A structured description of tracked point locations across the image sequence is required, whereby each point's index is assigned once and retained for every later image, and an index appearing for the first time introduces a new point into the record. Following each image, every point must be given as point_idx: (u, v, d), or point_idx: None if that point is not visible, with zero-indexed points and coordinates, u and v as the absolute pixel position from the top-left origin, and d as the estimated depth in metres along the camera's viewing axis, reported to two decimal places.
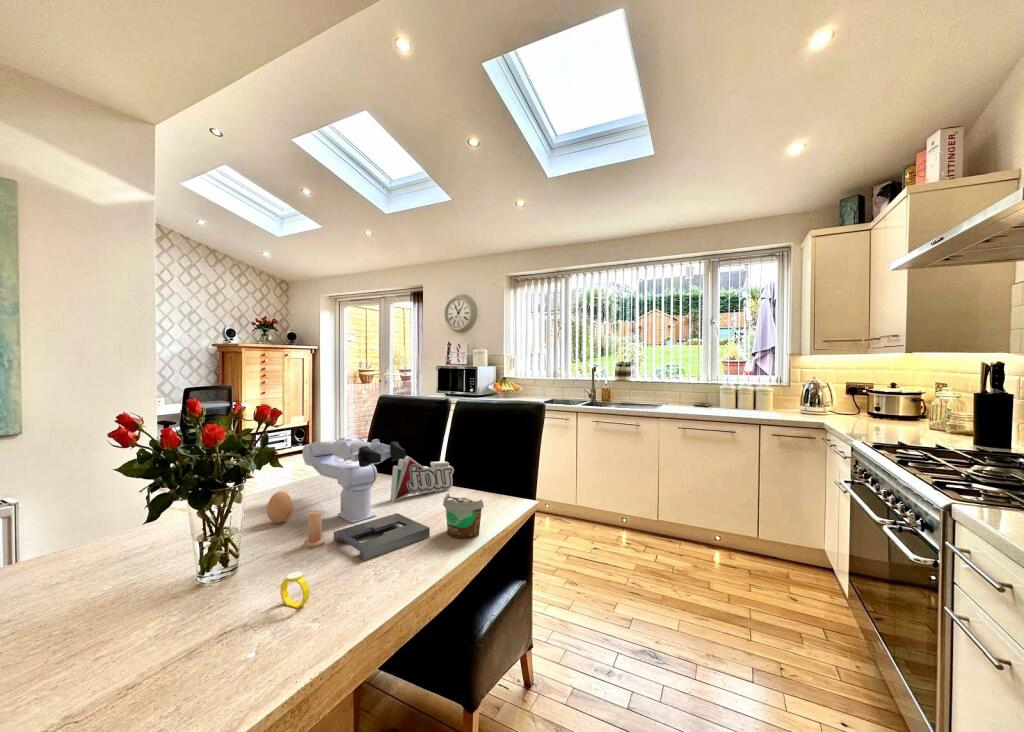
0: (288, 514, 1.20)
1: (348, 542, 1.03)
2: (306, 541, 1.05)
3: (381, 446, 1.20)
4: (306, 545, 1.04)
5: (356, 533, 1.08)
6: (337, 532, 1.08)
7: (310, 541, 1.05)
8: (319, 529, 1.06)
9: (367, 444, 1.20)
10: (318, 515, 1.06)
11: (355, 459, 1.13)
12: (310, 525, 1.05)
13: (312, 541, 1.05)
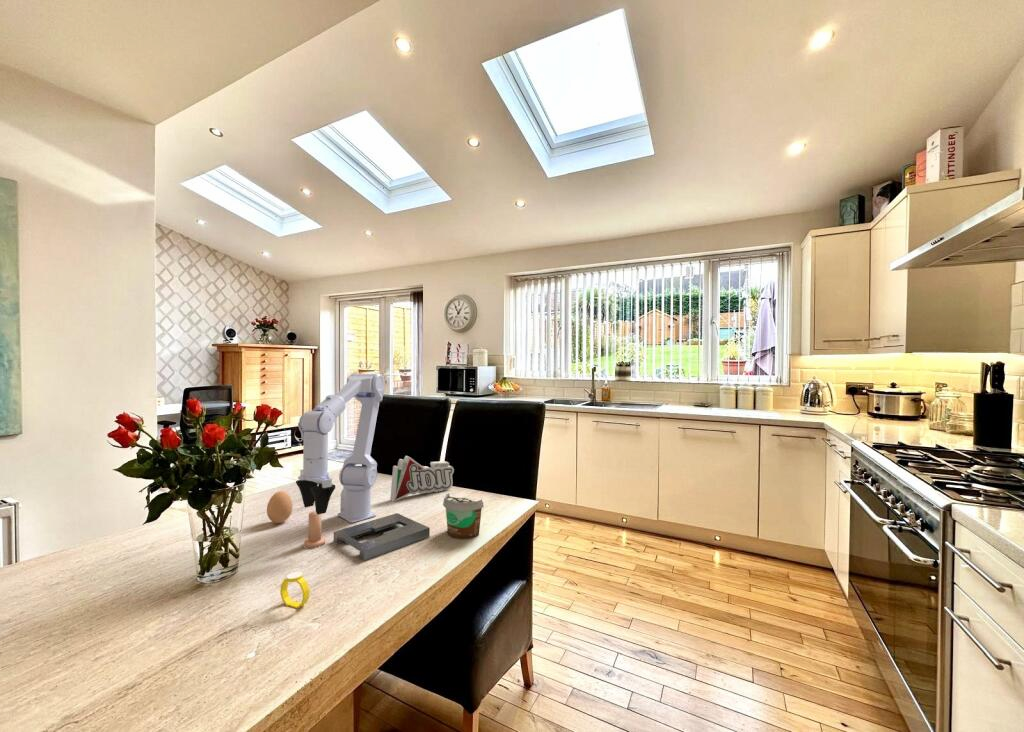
0: (288, 514, 1.20)
1: (348, 542, 1.03)
2: (306, 541, 1.05)
3: None
4: (306, 545, 1.04)
5: (356, 533, 1.08)
6: (337, 532, 1.08)
7: (310, 541, 1.05)
8: (319, 529, 1.06)
9: (303, 467, 1.05)
10: (318, 515, 1.06)
11: None
12: (310, 525, 1.05)
13: (312, 541, 1.05)
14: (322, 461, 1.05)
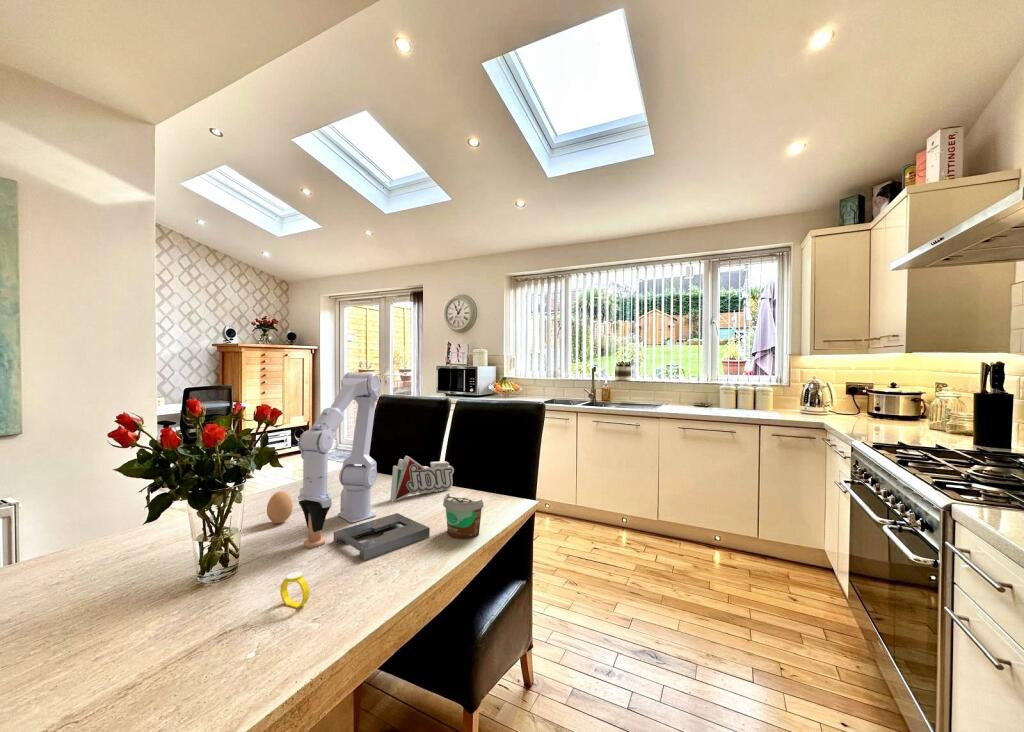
0: (288, 514, 1.20)
1: (348, 542, 1.03)
2: (306, 541, 1.05)
3: None
4: (306, 545, 1.04)
5: (356, 533, 1.08)
6: (337, 532, 1.08)
7: (310, 541, 1.05)
8: None
9: (303, 486, 1.05)
10: None
11: None
12: (310, 525, 1.05)
13: (312, 541, 1.05)
14: (322, 480, 1.05)
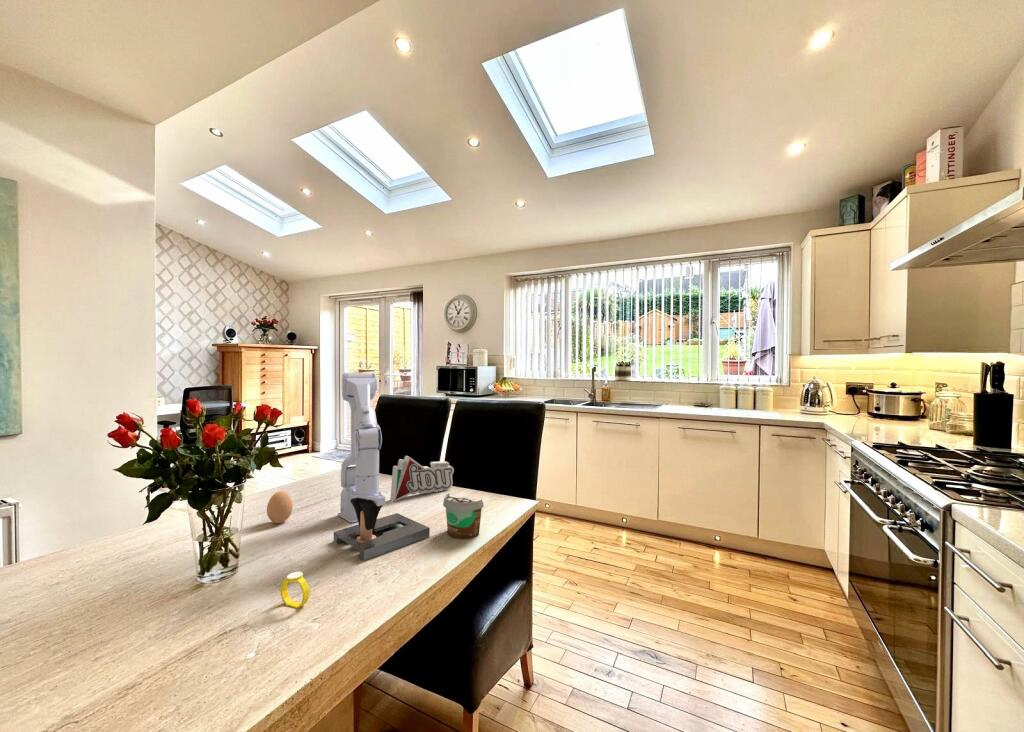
0: (288, 514, 1.20)
1: (348, 542, 1.03)
2: (358, 539, 1.05)
3: None
4: None
5: (356, 533, 1.08)
6: (337, 532, 1.08)
7: (362, 539, 1.05)
8: None
9: (355, 484, 1.05)
10: None
11: None
12: (362, 523, 1.05)
13: (364, 540, 1.05)
14: (374, 478, 1.05)
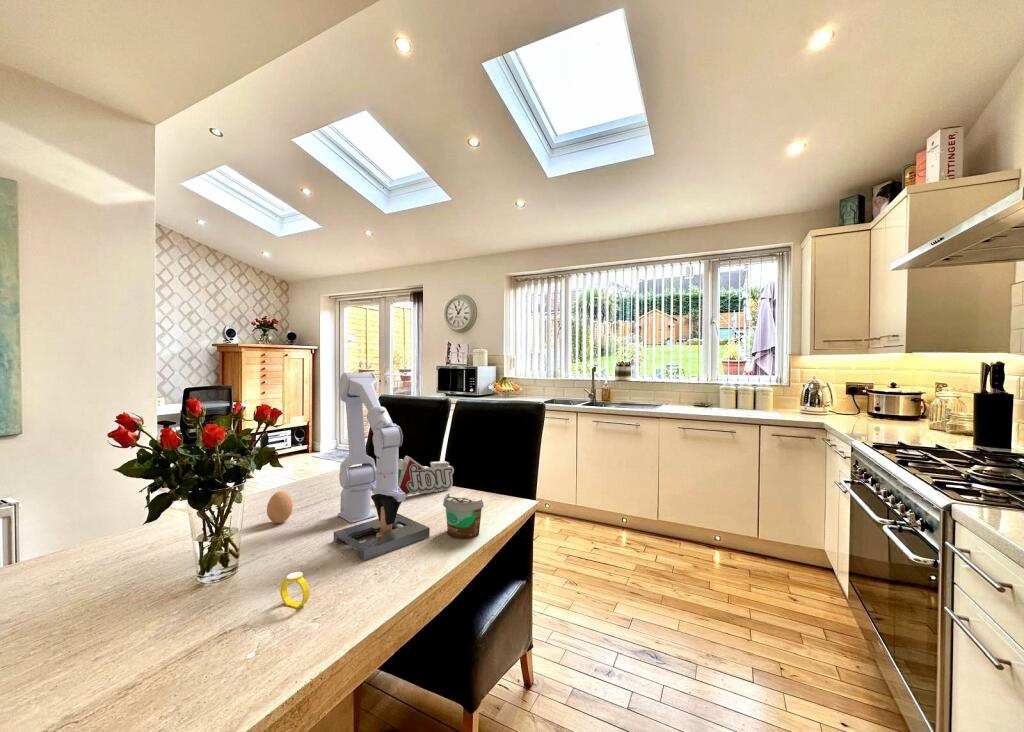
0: (288, 514, 1.20)
1: (348, 542, 1.03)
2: (378, 534, 1.10)
3: None
4: None
5: (356, 533, 1.08)
6: (337, 532, 1.08)
7: (382, 534, 1.09)
8: None
9: (376, 481, 1.10)
10: None
11: None
12: (382, 519, 1.09)
13: None
14: (394, 475, 1.09)
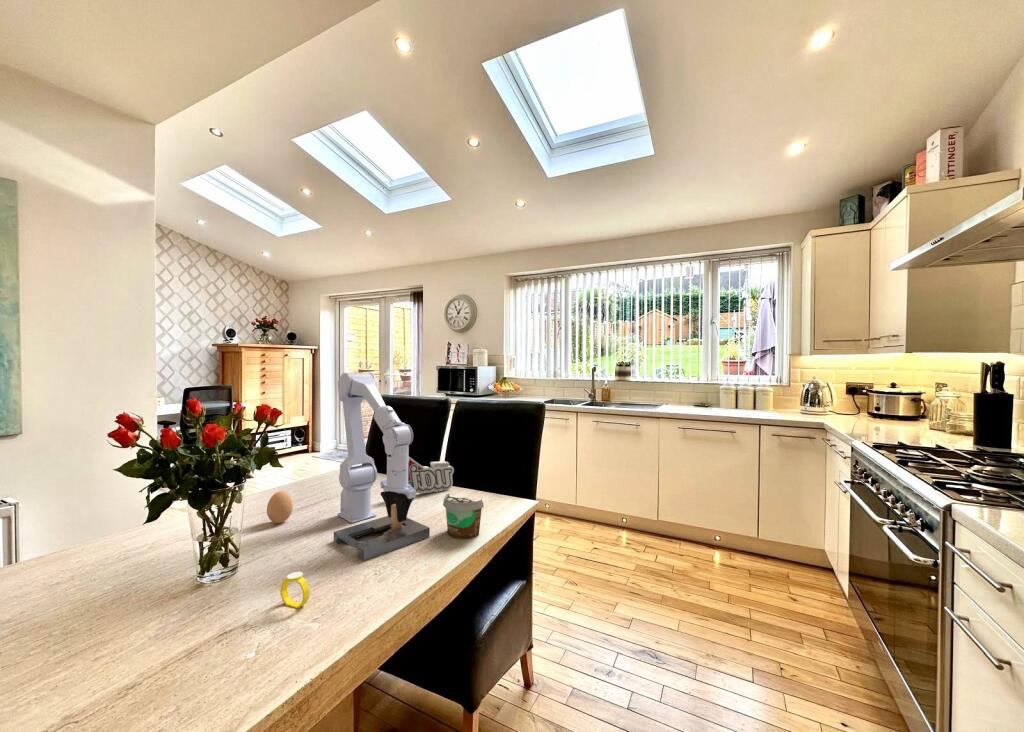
0: (288, 514, 1.20)
1: (348, 542, 1.03)
2: None
3: None
4: None
5: (356, 533, 1.08)
6: (337, 532, 1.08)
7: None
8: None
9: None
10: None
11: None
12: (393, 516, 1.12)
13: None
14: (405, 473, 1.12)
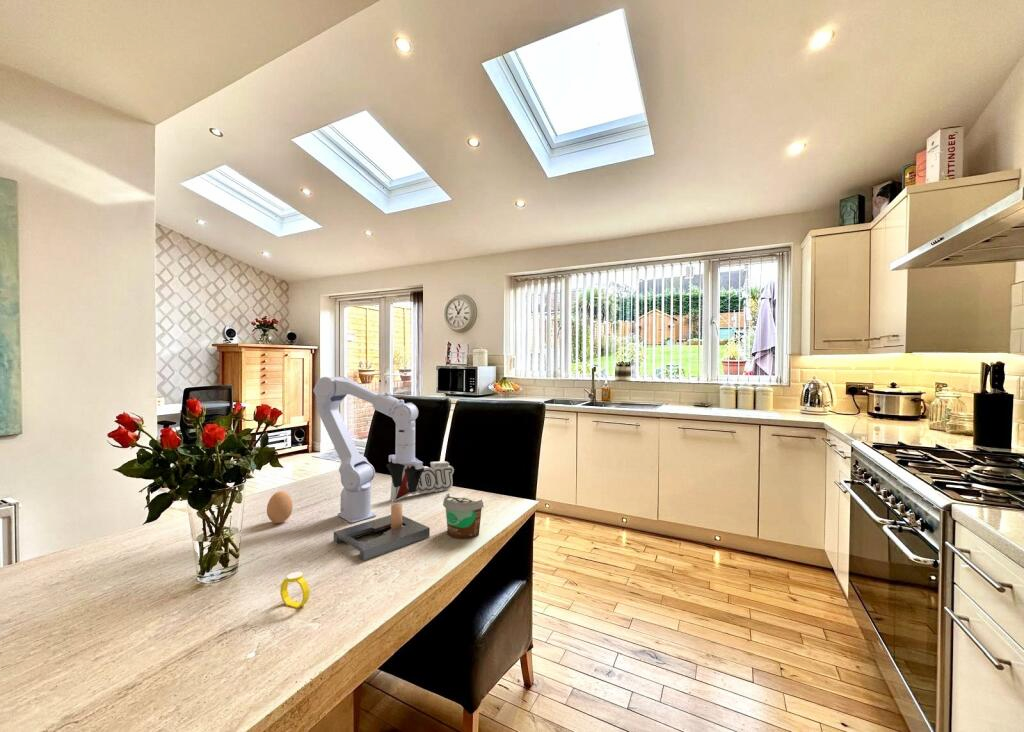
0: (288, 514, 1.20)
1: (348, 542, 1.03)
2: None
3: None
4: None
5: (356, 533, 1.08)
6: (337, 532, 1.08)
7: None
8: (401, 520, 1.12)
9: (395, 452, 1.22)
10: (400, 507, 1.12)
11: None
12: (393, 516, 1.12)
13: None
14: (412, 447, 1.22)
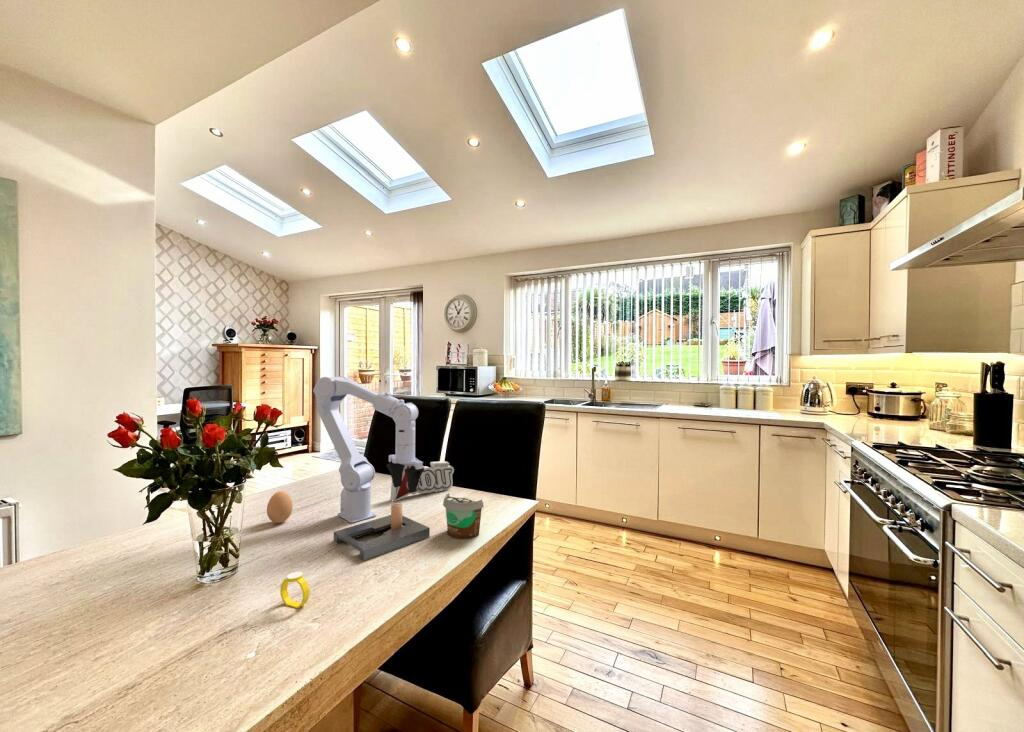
0: (288, 514, 1.20)
1: (348, 542, 1.03)
2: None
3: None
4: None
5: (356, 533, 1.08)
6: (337, 532, 1.08)
7: None
8: (401, 520, 1.12)
9: (395, 452, 1.22)
10: (400, 507, 1.12)
11: None
12: (393, 516, 1.12)
13: None
14: (412, 447, 1.22)
